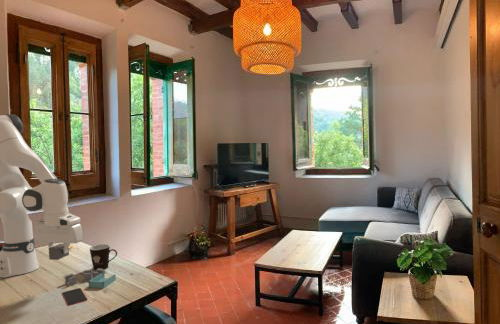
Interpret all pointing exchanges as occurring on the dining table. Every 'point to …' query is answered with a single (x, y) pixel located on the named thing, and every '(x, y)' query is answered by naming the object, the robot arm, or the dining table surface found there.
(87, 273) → the clip
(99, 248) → the coffee mug
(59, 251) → the connector plug
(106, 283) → the dock
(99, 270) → the clip
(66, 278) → the clip
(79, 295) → the smartphone
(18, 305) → the dining table surface
